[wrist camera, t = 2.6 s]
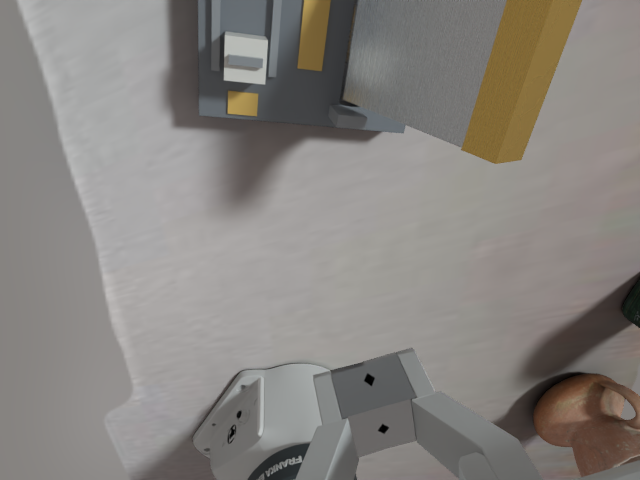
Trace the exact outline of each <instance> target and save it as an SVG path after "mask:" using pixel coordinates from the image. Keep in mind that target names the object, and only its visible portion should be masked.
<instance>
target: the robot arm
mask: <svg viewBox="0 0 640 480" xmlns="http://www.w3.org/2000/svg"><path fill="white" fill-rule="evenodd" d="M414 441H417V443H419V444H420V445H421V446H422V447H423V448H424V449H425V450H427V451H428V452H429V453H430V454H431V455H432V456H434V457H435V458H436V459H437V460H438V461H439V462H440V463H442V464H443V465H444V466H445V467H446V468H447V469H448V470H450V471H451V472H452V473H453V474H454V475H455V476H457V477H458V478H459V480H543V478H542V477H541V475H540V474H539V472H538V470H537V469H536V467H535V466H534V464H533V462H532V461H531V459H530V458H529V456H528V454H527V453H526V451H525V450H524V448H523V446H522V445H521V443H520V442H519V440H518V439H517V438H515V437H514V436H512V435H511V434H509V433H507V432H506V431H504V430H502V429H501V428H499V427H498V426H496V425H494V424H493V423H491V422H490V421H488V420H486V419H485V418H483V417H482V416H480V415H478V414H477V413H475V412H474V411H472V410H470V409H469V408H467V407H466V406H464V405H462V404H461V403H459V402H458V401H456V400H454V399H453V398H451V397H450V396H448V395H446V394H445V393H443V392H442V391H440V392H436V391H435V389H434V387H433V385H432V383H431V381H430V379H429V377H428V375H427V373H426V371H425V369H424V367H423V365H422V363H421V361H420V359H419V357H418V355H417V353H416V351H415V350H414V349H413V348H409V349H406V350H402V351H398V352H396V353H395V352H394V353H391V354H387V355H384V356H380V357H377V358H374V359H370V360H367V361H363V362H362V363H358V364H354V365H350V366H346V367H342V368H338V369H334V370H330V371H329V370H328V369H326V368H323V367H320V366H317V365H312V364H288V365H283V366H279V367H275V368H272V369H267V370H245V371H242V372H240V373H239V374H238V375H237V377H236V378H235V379H234V381H233V382H232V384H231V385H230V386H229V388H228V389H227V390H226V392H225V393H224V395H223V396H222V397H221V399H220V400H219V401H218V403H217V404H216V405H215V407H214V408H213V410H212V411H211V412H210V414H209V415H208V416H207V418H206V419H205V421H204V422H203V423H202V425H201V426H200V427H199V429H198V430H197V431H196V433H195V434H194V436H193V444H194V446H195V447H196V449H197V450H198V451H199V452H200V453H202V454H203V455H204V456H206V457H207V458H209V459H210V466H211V471H212V473H213V475H214V477H215V478H216V479H217V480H357V477H356V469H357V465H358V461H359V457H362V456H365V455H368V454H371V453H374V452H377V451H380V450H383V449H387V448H390V447H394V446H398V445H402V444H406V443H410V442H414ZM574 480H640V460H638V461H634V462H631V463H628V464H624V465H621V466H618V467H614V468H611V469H608V470H604V471H601V472H598V473H594V474H591V475H588V476H584V477H581V478H578V479H574Z"/></svg>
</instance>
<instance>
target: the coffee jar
mask: <svg viewBox="0 0 640 480" xmlns="http://www.w3.org/2000/svg"><path fill="white" fill-rule="evenodd" d="M622 311H623V314H624V316H625V317H626V318H627V319H628V320H630V321H631V322H632V323H633V324H635V325H636V326H638V327H639V328H640V280H639V281H638V282H637V284H636V285H635V286H634V288H633V289H632V291H631V292H630V294H629V296H628V297H627V299H626V301H625V303H624V305H623V309H622Z"/></svg>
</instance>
